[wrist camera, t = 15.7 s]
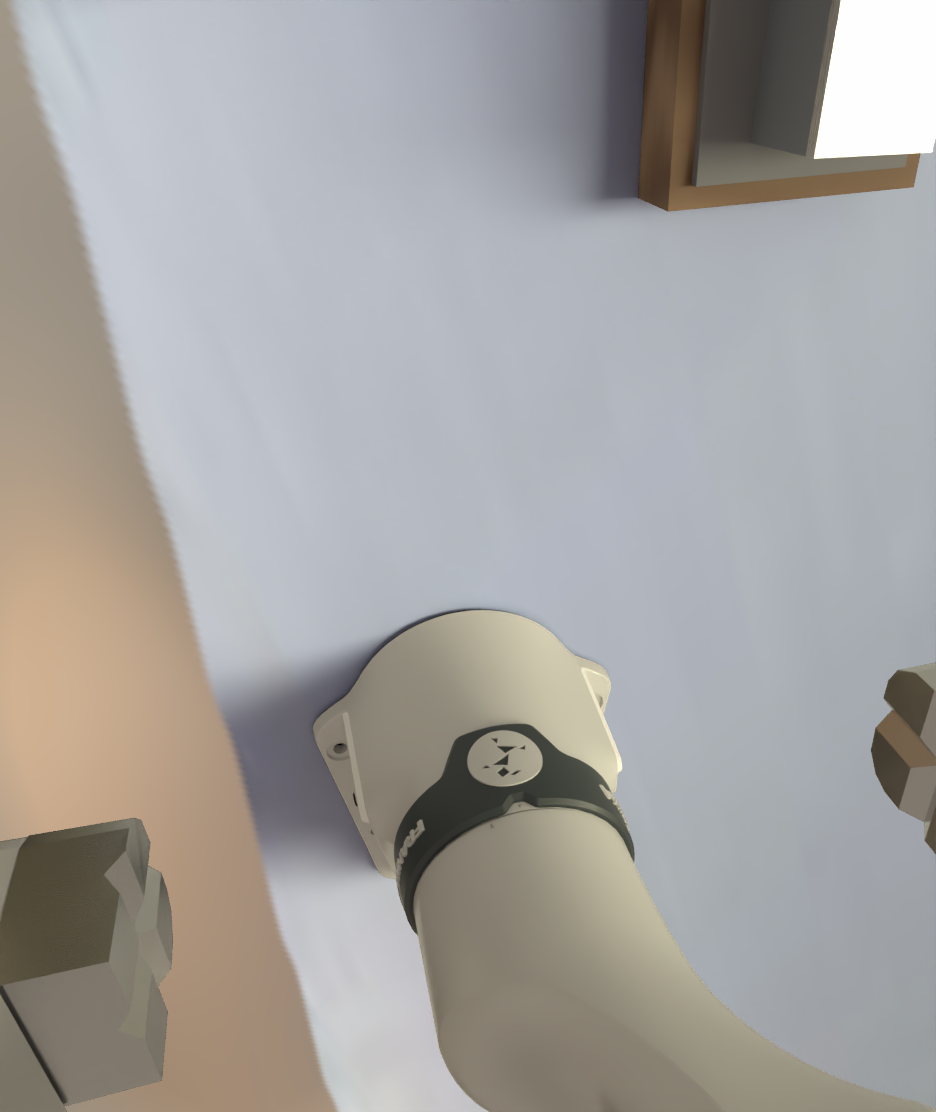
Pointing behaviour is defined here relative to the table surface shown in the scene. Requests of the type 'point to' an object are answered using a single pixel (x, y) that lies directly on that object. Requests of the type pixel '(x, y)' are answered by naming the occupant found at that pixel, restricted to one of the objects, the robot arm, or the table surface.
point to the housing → (848, 78)
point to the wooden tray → (728, 117)
